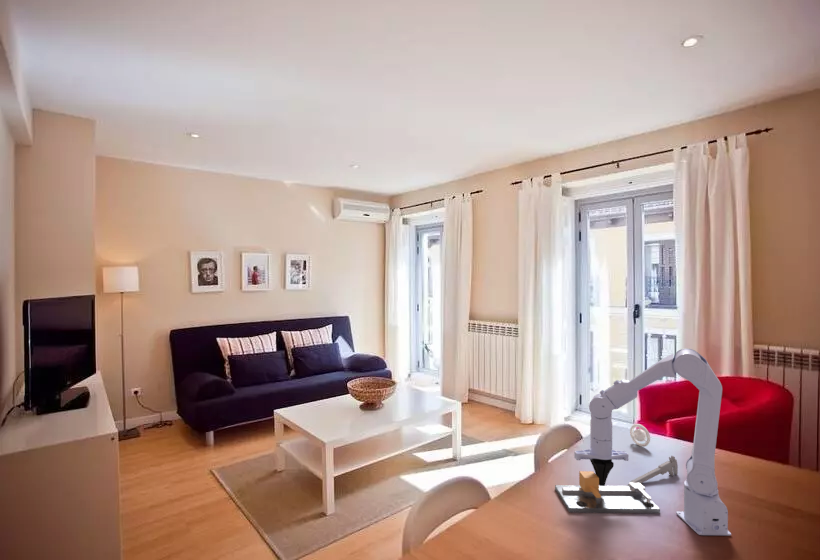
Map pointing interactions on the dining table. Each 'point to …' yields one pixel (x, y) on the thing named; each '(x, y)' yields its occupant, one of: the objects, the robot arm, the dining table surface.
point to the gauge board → (607, 499)
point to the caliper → (659, 471)
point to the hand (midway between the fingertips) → (601, 484)
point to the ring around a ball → (640, 435)
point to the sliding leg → (590, 483)
